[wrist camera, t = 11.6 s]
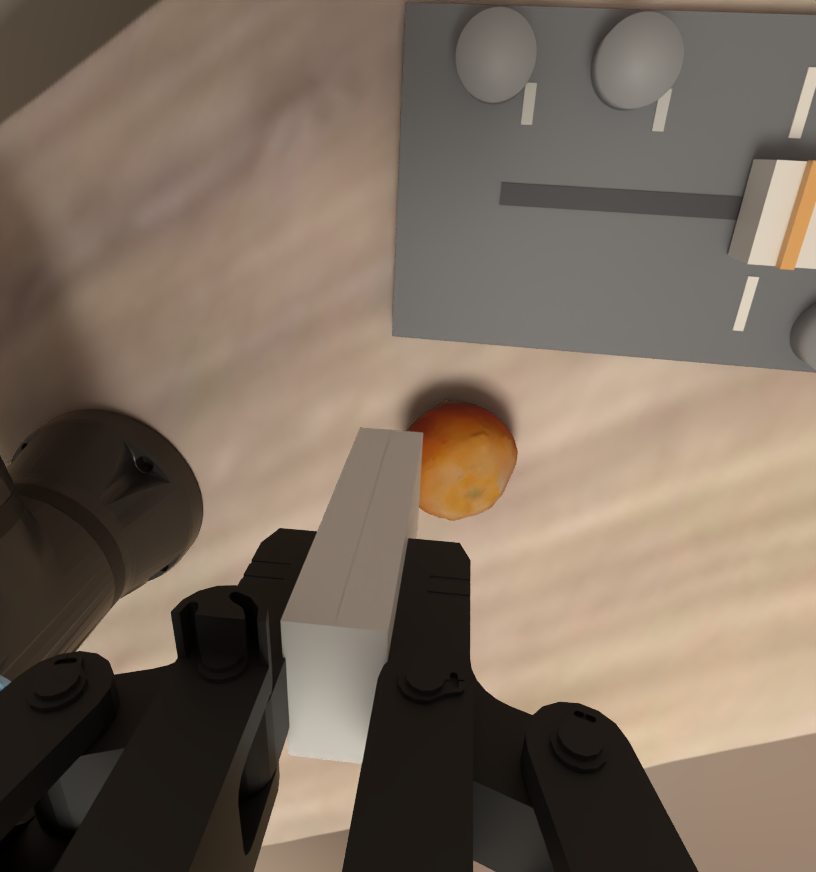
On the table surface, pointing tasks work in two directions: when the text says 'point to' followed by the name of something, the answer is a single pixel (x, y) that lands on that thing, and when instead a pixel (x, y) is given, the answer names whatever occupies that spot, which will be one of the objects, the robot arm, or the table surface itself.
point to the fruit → (463, 460)
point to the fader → (778, 216)
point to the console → (599, 180)
